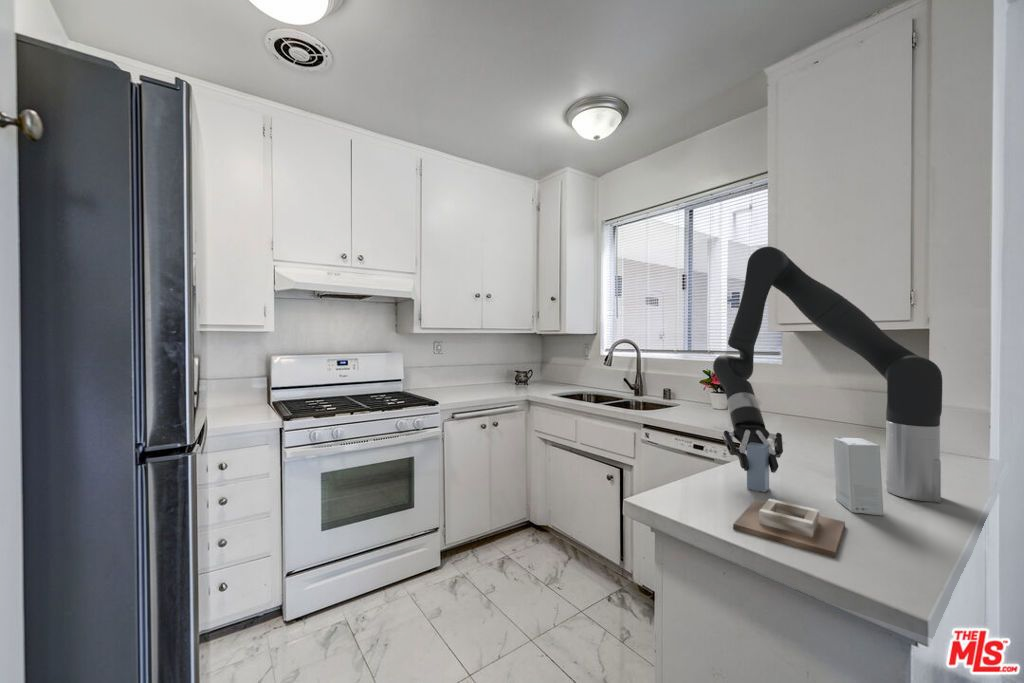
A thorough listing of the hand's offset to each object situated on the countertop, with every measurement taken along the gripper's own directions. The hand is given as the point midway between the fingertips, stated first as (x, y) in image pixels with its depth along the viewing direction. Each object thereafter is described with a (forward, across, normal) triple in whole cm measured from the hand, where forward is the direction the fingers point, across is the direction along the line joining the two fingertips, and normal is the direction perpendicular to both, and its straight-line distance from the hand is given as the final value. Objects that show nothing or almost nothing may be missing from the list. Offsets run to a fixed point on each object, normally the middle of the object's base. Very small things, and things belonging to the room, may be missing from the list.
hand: (760, 470), depth 102 cm
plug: (+2, 0, +5) cm, 6 cm away
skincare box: (+8, +17, 0) cm, 19 cm away
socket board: (+18, -1, -11) cm, 21 cm away
